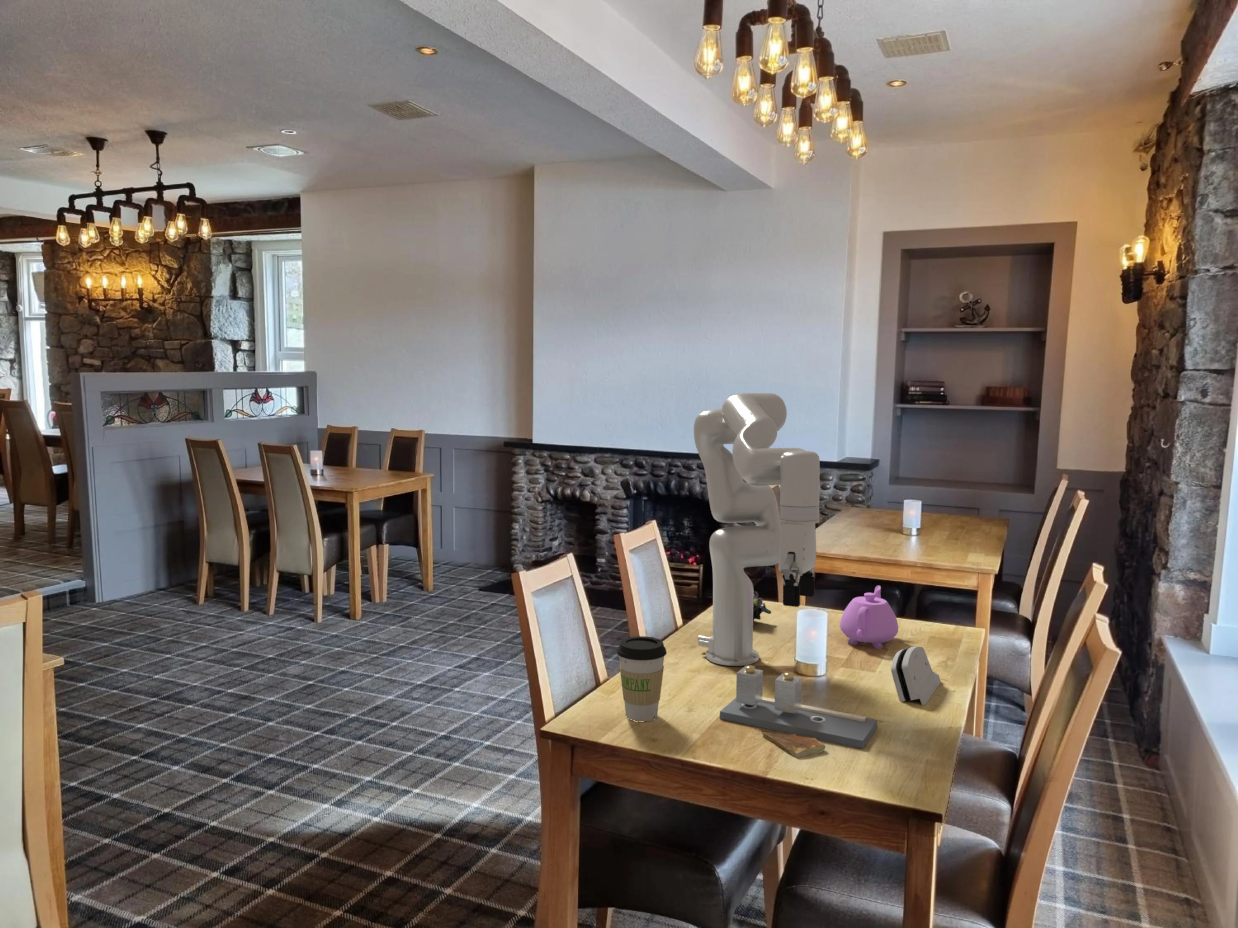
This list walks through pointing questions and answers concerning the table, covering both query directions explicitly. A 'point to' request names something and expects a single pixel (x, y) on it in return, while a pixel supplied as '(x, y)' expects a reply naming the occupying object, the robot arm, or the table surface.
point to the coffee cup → (641, 676)
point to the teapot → (869, 620)
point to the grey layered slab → (914, 675)
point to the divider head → (788, 692)
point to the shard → (795, 743)
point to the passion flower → (758, 606)
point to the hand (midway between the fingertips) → (798, 600)
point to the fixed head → (749, 685)
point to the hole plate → (804, 722)
